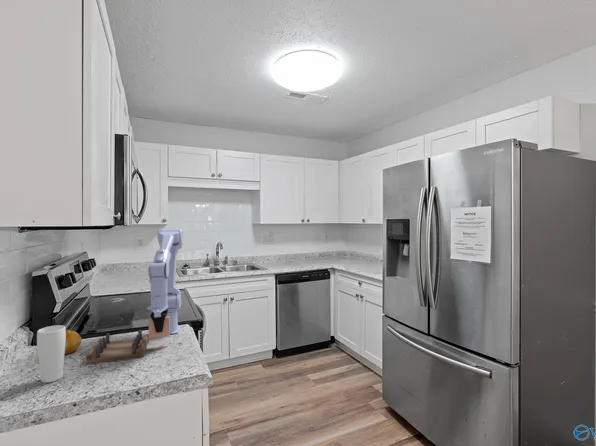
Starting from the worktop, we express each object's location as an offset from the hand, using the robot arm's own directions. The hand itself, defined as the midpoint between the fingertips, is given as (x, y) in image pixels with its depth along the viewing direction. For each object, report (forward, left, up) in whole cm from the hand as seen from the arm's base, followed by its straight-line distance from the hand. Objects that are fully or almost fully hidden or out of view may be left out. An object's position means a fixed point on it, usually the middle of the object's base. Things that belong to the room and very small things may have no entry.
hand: (159, 331), depth 118 cm
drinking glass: (+16, -28, -6) cm, 33 cm away
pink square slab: (0, 0, -2) cm, 2 cm away
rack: (0, -13, -6) cm, 14 cm away
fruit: (-6, -31, -6) cm, 32 cm away
